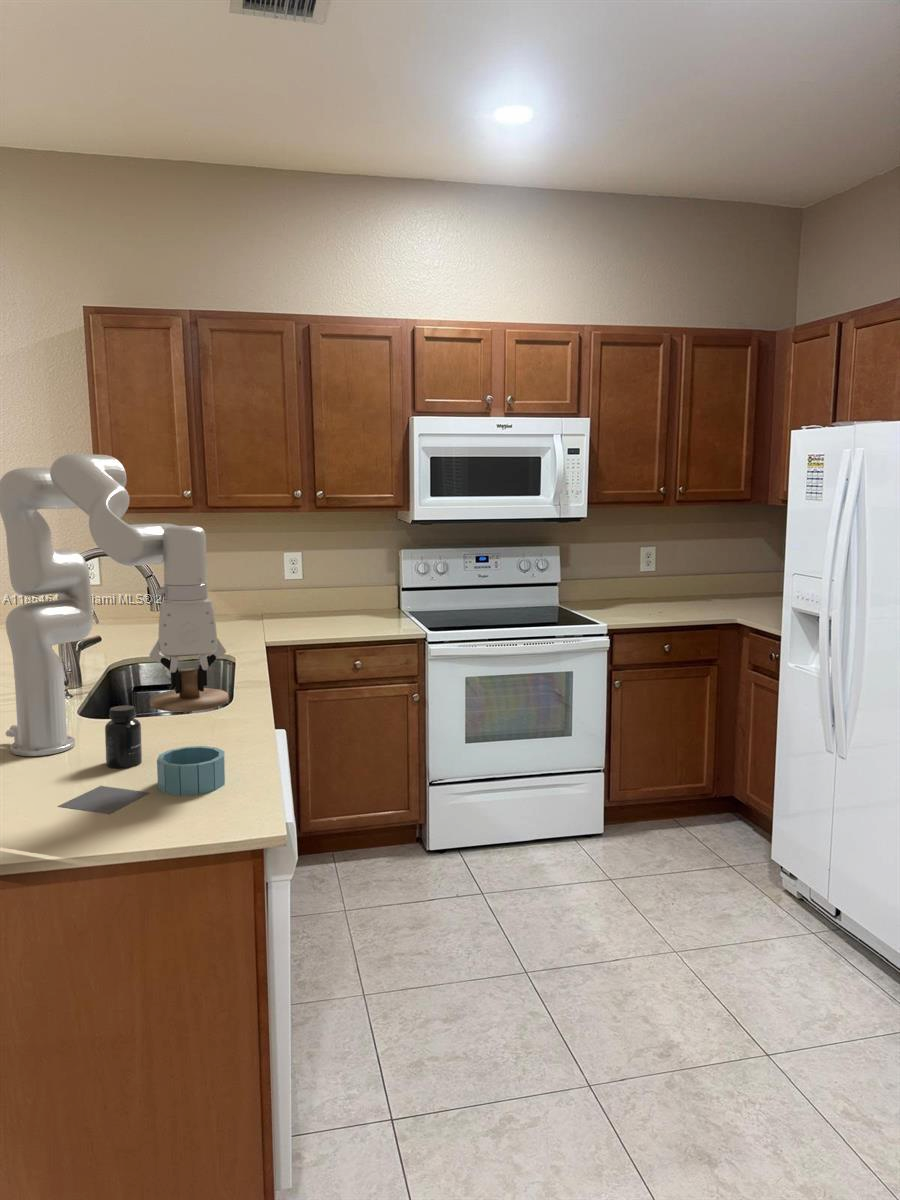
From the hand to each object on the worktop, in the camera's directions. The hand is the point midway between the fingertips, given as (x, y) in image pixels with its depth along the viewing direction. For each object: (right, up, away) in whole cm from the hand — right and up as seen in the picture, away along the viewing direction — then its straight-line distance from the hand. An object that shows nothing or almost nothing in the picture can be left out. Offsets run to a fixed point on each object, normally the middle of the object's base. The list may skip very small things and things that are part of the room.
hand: (189, 689), depth 160 cm
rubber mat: (-13, -19, -6) cm, 24 cm away
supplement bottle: (-17, -17, +14) cm, 28 cm away
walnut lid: (0, -2, 0) cm, 2 cm away
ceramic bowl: (0, -18, +2) cm, 19 cm away
